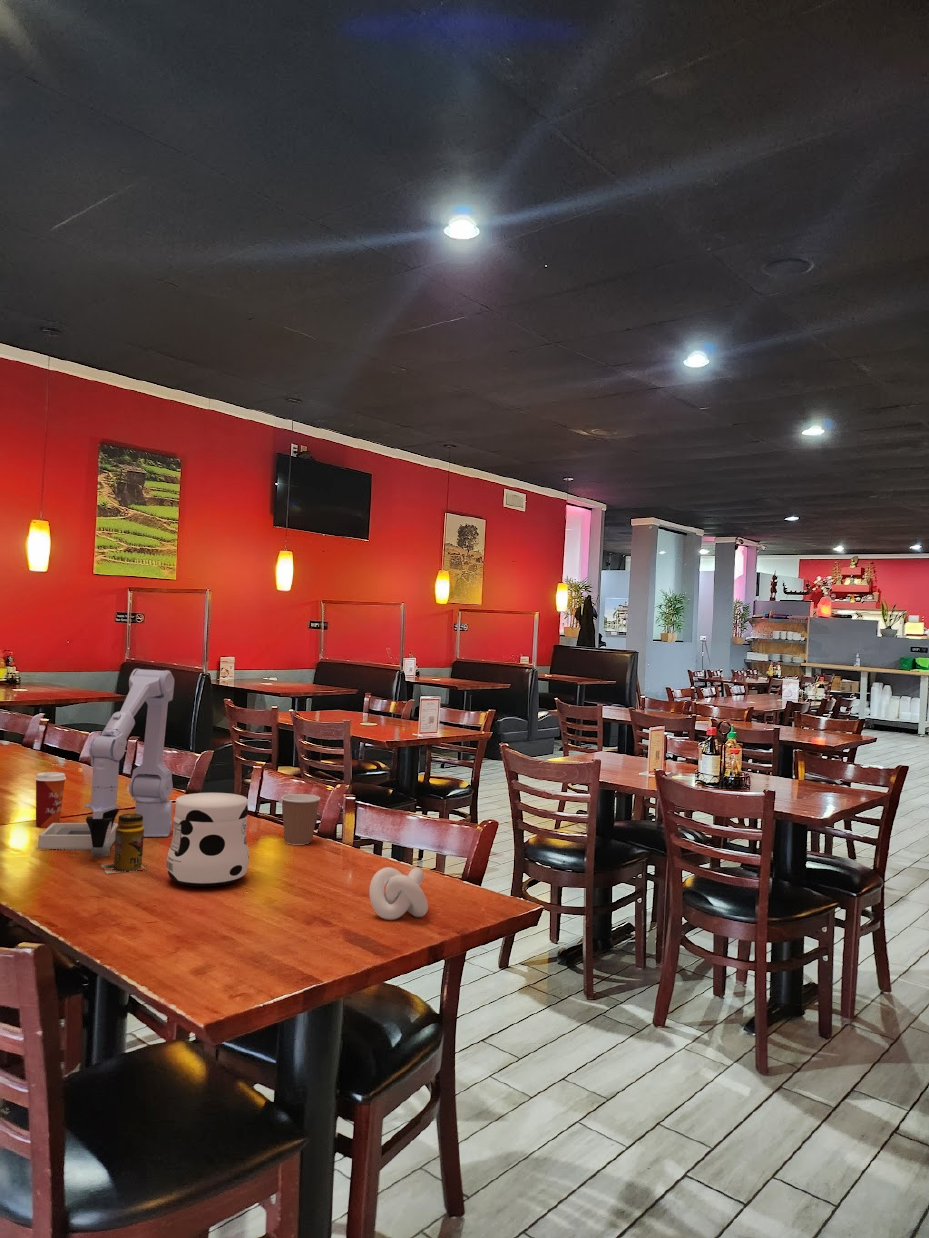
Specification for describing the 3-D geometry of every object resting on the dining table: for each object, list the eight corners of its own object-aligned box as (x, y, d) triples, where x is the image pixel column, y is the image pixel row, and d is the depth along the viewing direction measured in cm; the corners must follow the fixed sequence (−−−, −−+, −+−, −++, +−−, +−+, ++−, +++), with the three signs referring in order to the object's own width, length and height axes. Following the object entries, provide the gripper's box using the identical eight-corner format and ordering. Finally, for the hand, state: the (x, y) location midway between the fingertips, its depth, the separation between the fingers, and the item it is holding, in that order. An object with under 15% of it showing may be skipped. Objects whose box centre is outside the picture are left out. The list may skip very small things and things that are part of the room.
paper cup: (54, 829, 226) (57, 776, 227) (25, 827, 227) (29, 775, 227) (68, 823, 234) (72, 772, 235) (41, 821, 234) (44, 770, 235)
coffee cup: (322, 839, 230) (324, 795, 231) (311, 848, 220) (314, 802, 221) (285, 837, 231) (287, 792, 232) (273, 845, 221) (275, 799, 222)
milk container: (262, 876, 193) (266, 796, 194) (220, 896, 176) (225, 809, 177) (195, 866, 198) (199, 789, 198) (148, 886, 181) (153, 801, 182)
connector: (110, 852, 206) (112, 819, 206) (107, 857, 202) (109, 823, 202) (93, 853, 205) (95, 819, 205) (89, 857, 201) (91, 823, 201)
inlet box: (118, 836, 222) (119, 823, 222) (108, 849, 209) (109, 835, 209) (51, 836, 219) (52, 822, 219) (37, 850, 205) (38, 835, 205)
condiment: (146, 870, 193) (149, 817, 193) (106, 874, 188) (110, 819, 188) (139, 862, 199) (142, 811, 199) (100, 866, 194) (103, 813, 195)
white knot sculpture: (373, 926, 163) (376, 879, 163) (363, 907, 174) (365, 863, 175) (430, 924, 166) (433, 877, 166) (416, 905, 178) (419, 861, 178)
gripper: (92, 780, 210) (89, 836, 210) (80, 791, 196) (76, 850, 196) (123, 781, 212) (119, 836, 211) (113, 791, 198) (109, 850, 197)
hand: (101, 843), depth 204 cm, fingers open, 7 cm apart
